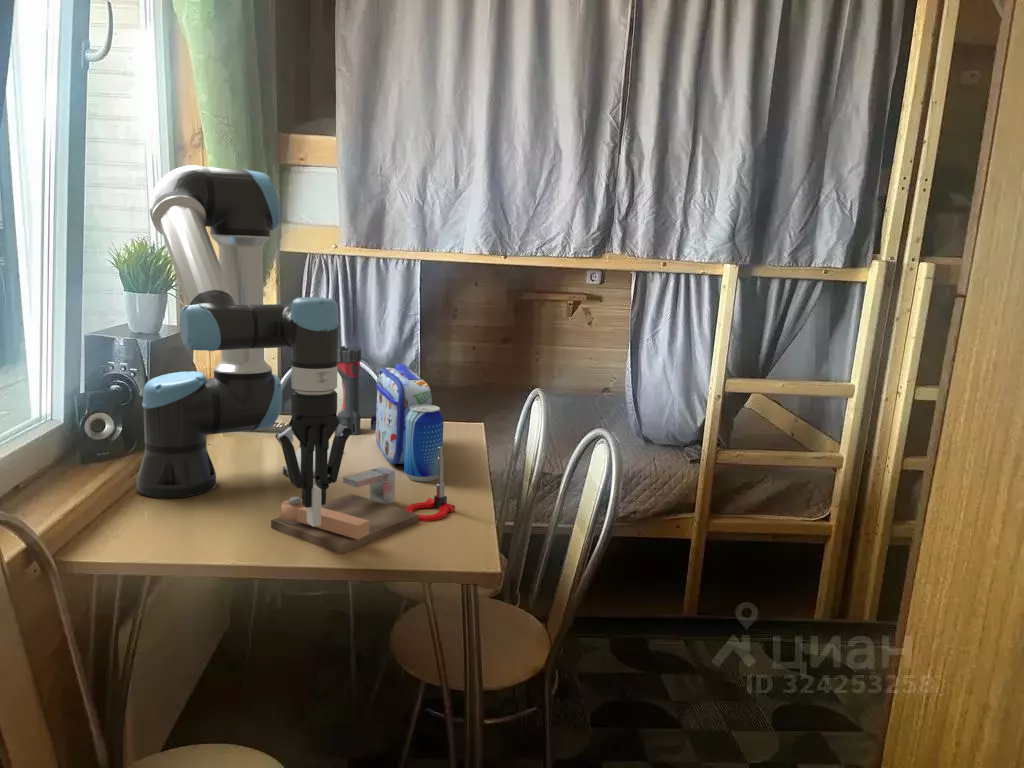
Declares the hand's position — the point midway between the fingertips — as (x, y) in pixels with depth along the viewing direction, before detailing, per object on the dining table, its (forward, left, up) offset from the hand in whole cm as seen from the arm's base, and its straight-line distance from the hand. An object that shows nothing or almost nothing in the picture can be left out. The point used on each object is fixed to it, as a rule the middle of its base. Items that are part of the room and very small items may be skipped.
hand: (313, 523), depth 137 cm
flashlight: (-52, +58, -4) cm, 78 cm away
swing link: (-2, +4, -2) cm, 4 cm away
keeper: (-7, +20, -4) cm, 22 cm away
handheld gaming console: (-37, +33, -5) cm, 49 cm away
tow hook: (+5, +25, -4) cm, 26 cm away
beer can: (-11, +42, -4) cm, 44 cm away
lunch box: (-27, +51, -4) cm, 58 cm away
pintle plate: (-2, +10, -4) cm, 11 cm away
